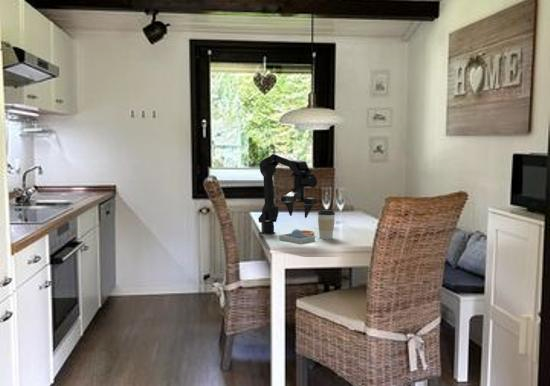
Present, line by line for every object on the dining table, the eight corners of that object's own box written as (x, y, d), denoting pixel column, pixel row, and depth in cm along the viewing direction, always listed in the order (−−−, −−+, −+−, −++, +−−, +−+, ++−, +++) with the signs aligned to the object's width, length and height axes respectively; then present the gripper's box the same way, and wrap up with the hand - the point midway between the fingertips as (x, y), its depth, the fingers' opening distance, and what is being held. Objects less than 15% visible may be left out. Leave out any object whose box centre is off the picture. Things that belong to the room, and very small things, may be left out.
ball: (288, 240, 269) (289, 229, 269) (296, 238, 273) (296, 227, 273) (297, 241, 265) (297, 230, 265) (304, 240, 269) (304, 229, 269)
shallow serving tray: (278, 239, 271) (278, 235, 270) (292, 236, 278) (292, 232, 278) (300, 243, 260) (301, 239, 260) (314, 240, 268) (314, 236, 267)
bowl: (291, 235, 282) (291, 231, 282) (303, 233, 290) (303, 229, 289) (305, 237, 276) (305, 234, 275) (318, 235, 283) (318, 231, 282)
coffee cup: (333, 236, 281) (333, 208, 280) (335, 239, 272) (336, 210, 271) (316, 236, 281) (316, 208, 279) (318, 239, 272) (318, 210, 270)
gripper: (274, 185, 266) (273, 216, 267) (305, 188, 254) (304, 220, 256) (287, 184, 274) (286, 214, 276) (317, 187, 263) (317, 218, 265)
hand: (298, 216), depth 268 cm, fingers open, 9 cm apart
